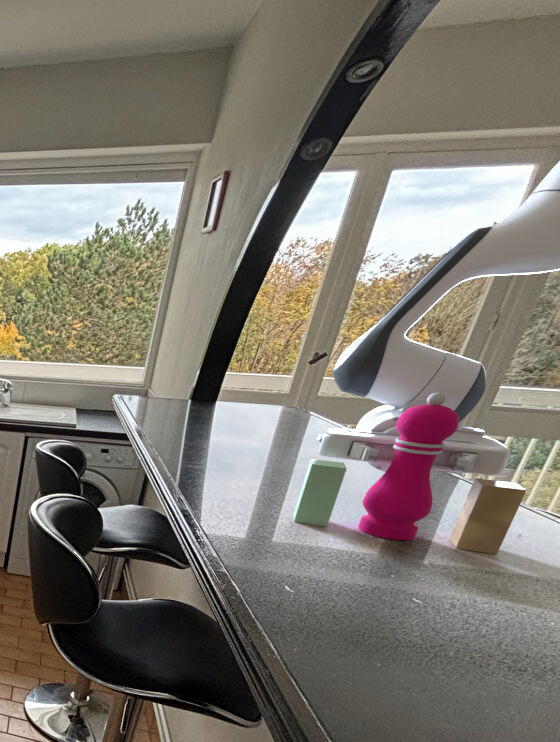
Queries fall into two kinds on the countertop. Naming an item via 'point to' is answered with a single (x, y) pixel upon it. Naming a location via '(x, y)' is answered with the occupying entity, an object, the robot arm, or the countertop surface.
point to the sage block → (319, 492)
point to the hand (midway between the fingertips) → (415, 461)
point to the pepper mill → (409, 472)
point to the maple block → (487, 515)
